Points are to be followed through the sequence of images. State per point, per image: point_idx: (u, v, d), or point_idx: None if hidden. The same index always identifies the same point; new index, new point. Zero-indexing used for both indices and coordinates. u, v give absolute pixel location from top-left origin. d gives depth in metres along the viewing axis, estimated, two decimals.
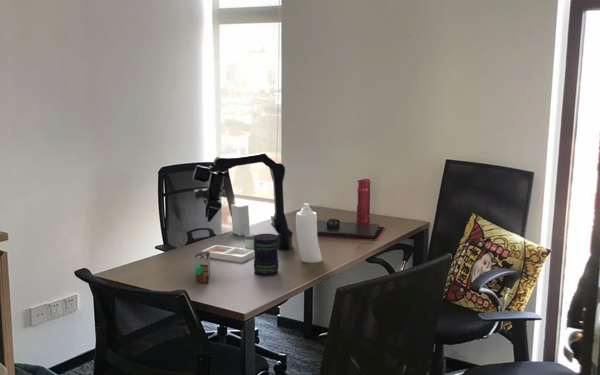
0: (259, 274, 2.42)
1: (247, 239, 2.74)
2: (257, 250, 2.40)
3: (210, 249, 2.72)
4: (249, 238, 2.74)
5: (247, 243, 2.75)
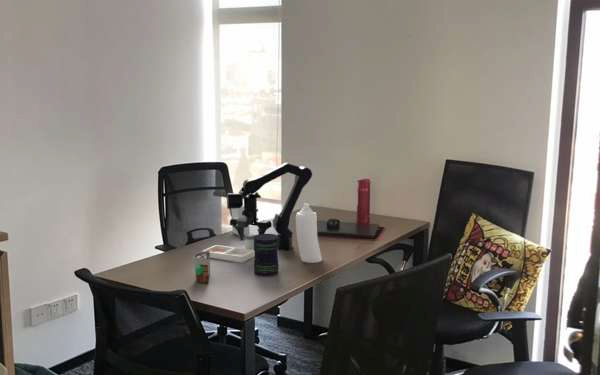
0: (259, 274, 2.42)
1: (247, 239, 2.74)
2: (257, 250, 2.40)
3: (210, 249, 2.72)
4: (249, 238, 2.74)
5: (247, 243, 2.75)
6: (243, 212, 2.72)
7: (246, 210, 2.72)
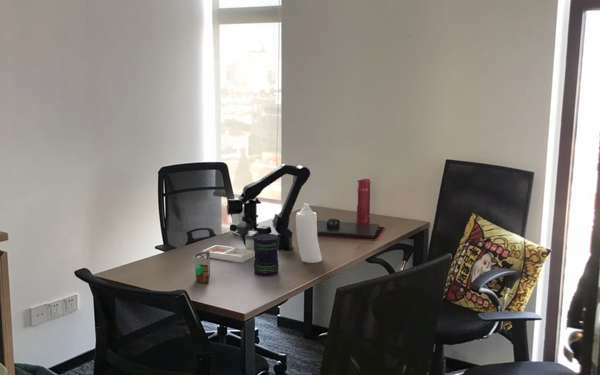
0: (259, 274, 2.42)
1: (247, 239, 2.74)
2: (257, 250, 2.40)
3: (210, 249, 2.72)
4: (249, 238, 2.74)
5: (247, 243, 2.75)
6: (243, 218, 2.73)
7: (246, 216, 2.72)
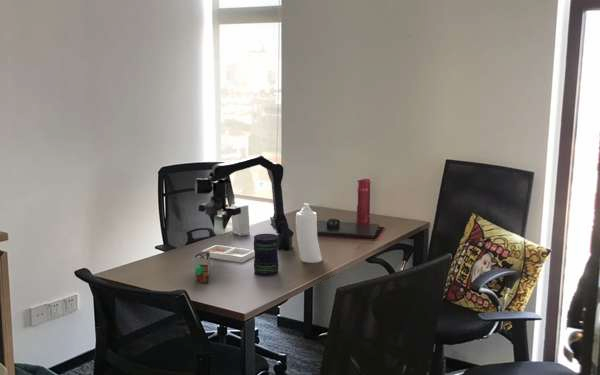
0: (259, 274, 2.42)
1: (216, 220, 2.66)
2: (257, 250, 2.40)
3: (210, 249, 2.72)
4: (218, 219, 2.66)
5: (216, 224, 2.67)
6: (212, 198, 2.64)
7: (215, 196, 2.64)
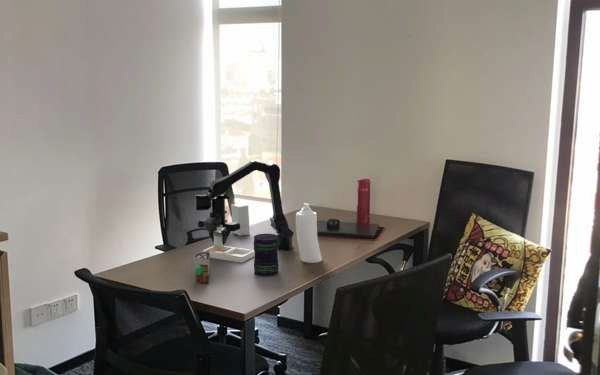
0: (259, 274, 2.42)
1: (215, 235, 2.67)
2: (257, 250, 2.40)
3: (210, 249, 2.72)
4: (217, 234, 2.66)
5: (215, 239, 2.67)
6: (211, 214, 2.65)
7: (214, 212, 2.65)
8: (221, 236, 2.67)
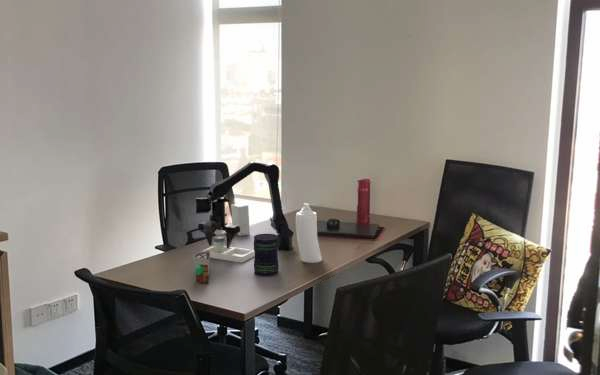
0: (259, 274, 2.42)
1: (215, 242, 2.68)
2: (257, 250, 2.40)
3: (210, 249, 2.72)
4: (217, 240, 2.67)
5: (215, 246, 2.68)
6: (211, 217, 2.66)
7: (214, 215, 2.65)
8: (221, 242, 2.68)
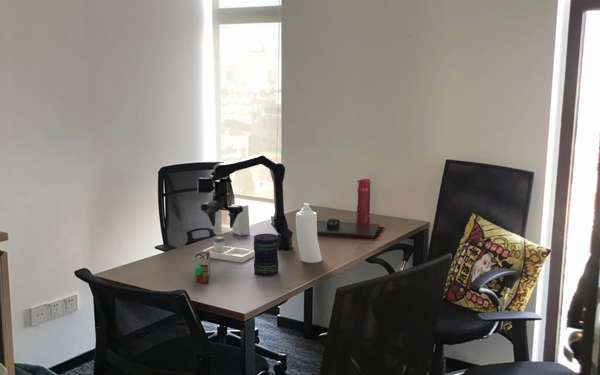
0: (259, 274, 2.42)
1: (215, 242, 2.68)
2: (257, 250, 2.40)
3: (210, 249, 2.72)
4: (217, 241, 2.67)
5: (215, 246, 2.68)
6: (214, 197, 2.67)
7: (217, 195, 2.67)
8: (221, 242, 2.68)
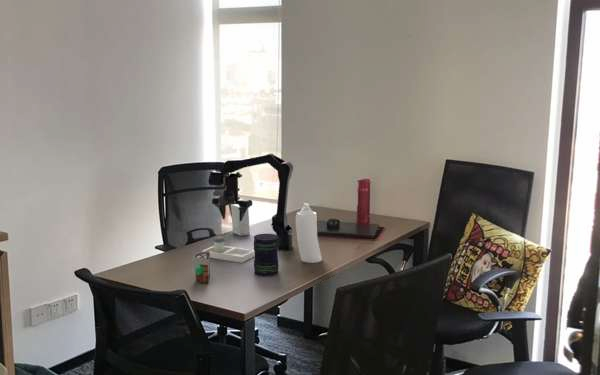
0: (259, 274, 2.42)
1: (215, 242, 2.68)
2: (257, 250, 2.40)
3: (210, 249, 2.72)
4: (217, 241, 2.67)
5: (215, 246, 2.68)
6: (225, 191, 2.80)
7: (227, 189, 2.79)
8: (221, 242, 2.68)
